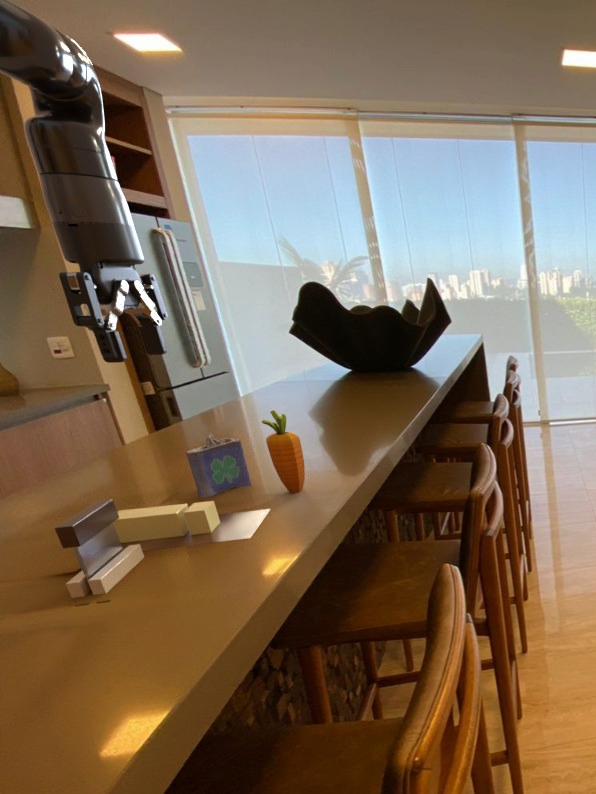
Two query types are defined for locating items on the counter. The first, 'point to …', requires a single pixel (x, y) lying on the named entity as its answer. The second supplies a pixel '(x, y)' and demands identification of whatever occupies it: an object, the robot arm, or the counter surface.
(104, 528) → the dough scraper
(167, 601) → the counter surface
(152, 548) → the board
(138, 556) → the rest
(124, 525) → the butter
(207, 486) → the flask
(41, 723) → the counter surface
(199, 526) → the butter slice
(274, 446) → the carrot
